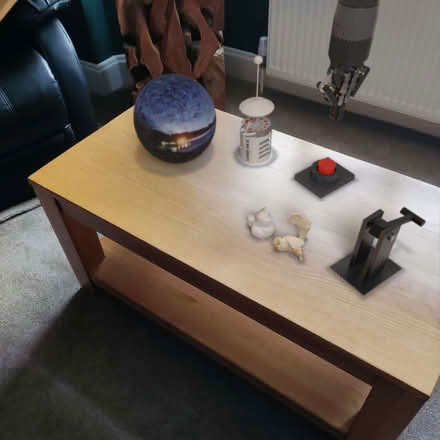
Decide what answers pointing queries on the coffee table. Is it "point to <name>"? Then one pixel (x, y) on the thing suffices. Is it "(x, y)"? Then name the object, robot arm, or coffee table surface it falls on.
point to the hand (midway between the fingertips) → (335, 119)
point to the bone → (293, 242)
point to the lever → (406, 218)
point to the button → (326, 166)
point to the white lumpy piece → (261, 224)
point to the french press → (256, 127)
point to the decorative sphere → (174, 118)
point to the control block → (323, 179)
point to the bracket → (369, 257)
